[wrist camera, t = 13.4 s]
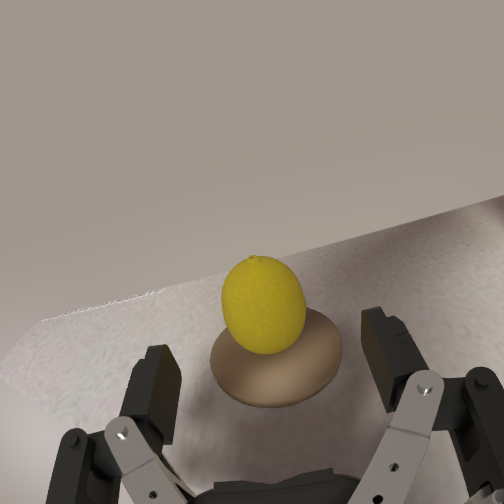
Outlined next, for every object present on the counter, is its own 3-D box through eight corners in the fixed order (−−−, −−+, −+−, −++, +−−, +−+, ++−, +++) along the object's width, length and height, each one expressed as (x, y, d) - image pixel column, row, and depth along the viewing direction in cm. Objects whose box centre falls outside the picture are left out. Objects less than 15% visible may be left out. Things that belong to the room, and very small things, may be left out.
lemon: (239, 328, 26) (214, 243, 22) (307, 319, 25) (293, 229, 22) (235, 380, 21) (200, 290, 17) (314, 371, 20) (302, 274, 17)
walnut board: (363, 330, 24) (363, 323, 23) (295, 430, 17) (294, 424, 17) (263, 301, 30) (261, 294, 30) (187, 372, 24) (184, 365, 23)
